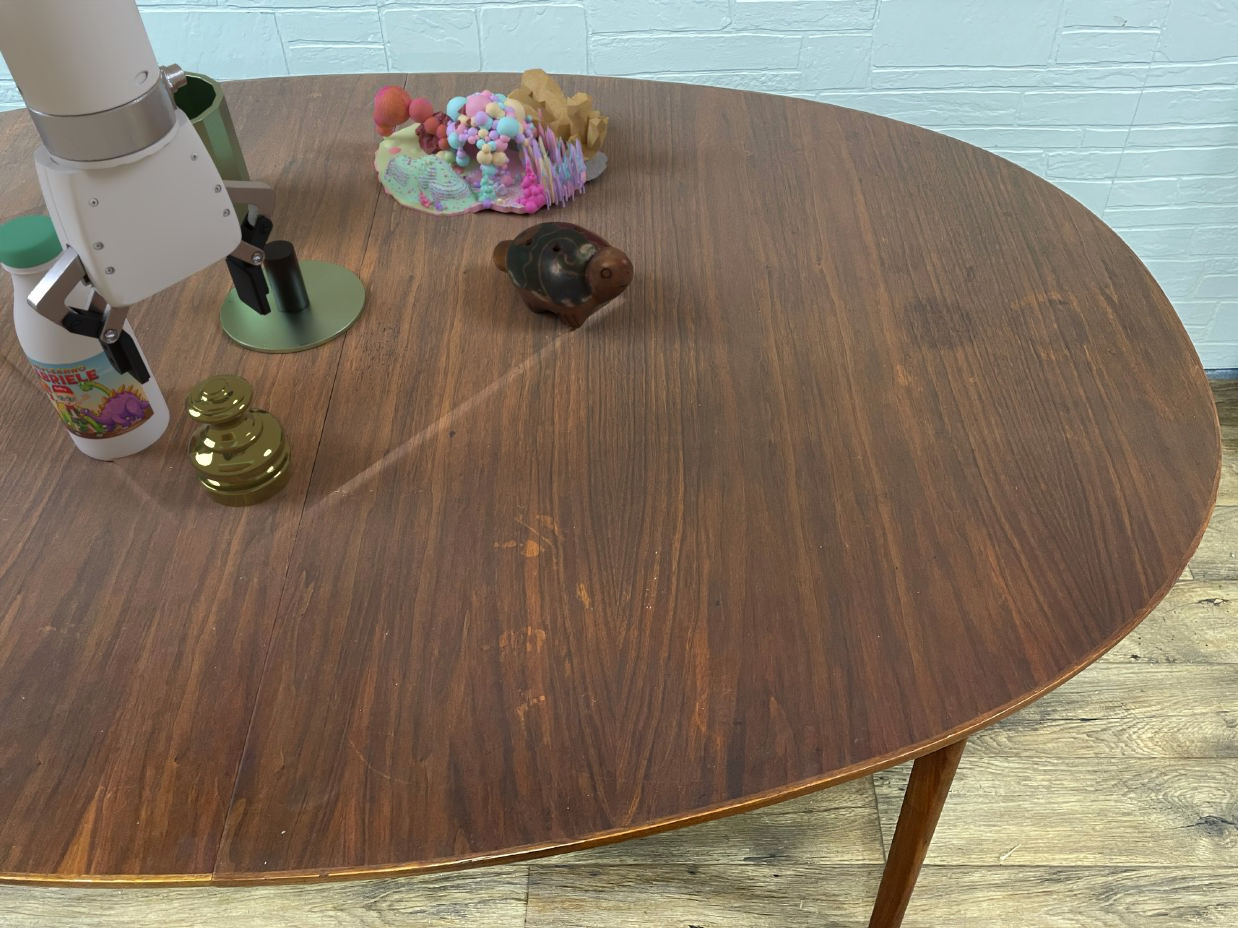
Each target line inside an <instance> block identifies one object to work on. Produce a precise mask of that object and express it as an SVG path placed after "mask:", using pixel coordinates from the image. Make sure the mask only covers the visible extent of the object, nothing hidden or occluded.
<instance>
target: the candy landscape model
mask: <svg viewBox="0 0 1238 928" xmlns="http://www.w3.org/2000/svg"><path fill="white" fill-rule="evenodd" d="M520 85H521V86H520V88H518V87H516V88H515V89H513V90H512V91H511V92H509V94H507V95H506V96H505V94H502V93H495V94H494V92H491V91H490V90H489V89H484V90H483V91H482V92H479V91H477V92H475V93H472V94H470V95H468V96H467V97H464V96H455V97H453V98H451V99H450V100H449V101H448V102H447V105H446V113H444V111H443V110H439V111H435V112H434V107H433V104H432V103H431V102H430V100H428V99H427V98H424V97H416V98H414V99H412V98H411V95H410V94H409V93H408V91H407V90H405V89H404V88H403V87H401V86H398V85H387V86H385V87H382V88H381V89H380V90H378V91H377V93H376V95H375V97H374V99H373V100H374V101H373V105H374V106H373V107H374V110H373V115H372V116H373V121H374V123H375V125H376V132H377V134H378V135H379V136H381V137H382V138H383V139H384V140H382V141H381V142H380V143H379V146H378V149H376V150H375V152H374V155H375V158H374V159H375V160H374V161H373V164H374V168H375V172H376V173H378V174H377V177H378V182H379V183H381V184H382V187H383V188H384V192H385V194H386V195H388V196H391V197H393V198H394V200H395V201H396V202H398V203H399V206H401V207H405V208H408V209H411V210H414V211H417V212H421V213H423V214H427V215H431V216H434V217H449V218H450V217H453V216H461V215H465V214H467V213H471V214H475V213H477V212H479V211H483V210H489V209H490V210H493V211H497V212H501V213H507V214H508V213H515V214H519V215H522V214H526V213H528V214H534V213H536V212H537V211H538V210H540V208H543V206H544V205H546V208H547V211H550V207H551V206H552V204H554V203H555V205H556V206H558V205H559V202H562V203H561V204H562V208H565V207H566V202H568V199H569V198H571V197H572V198H571V199H572V201H573V202H574V201H575V191H577V190H578V191H579V192H578V193H579V194H585V193H586V189H585V188H586V187H585V183H586V182H589V181H591V180H594V179H596V178H598V177H599V176H600V175H601V174H602V173H603V172H604V171H605V170H606V169H607V168H608V165H607V162H608V160H609V158H608V157H607V154H606V153H604V152H602V151H600V148H601V147H602V146H603V143H604V140H605V138H606V136H607V133H608V123H609V119H610V118H609V116H602V115H601V110H591V109H592V107H593V103H594V97H592V96H590V95H589V94H588V93H585V92H581V91H578V92H577V93H575V94H574V95H573V96H572V97H569V96H567V98H566V97H565V95H564V93H563V90H562V88H561V87H560V86H559V84H558V83H557V82H556V81H555V80H554V78H553V77H551V76H550V74H548V73H547V72H546V71H545V70H543V69H542V68H530V69H525V70H524V72H523V73H522V75H521V84H520ZM410 119H411V120H412V121H413V122H414V123H412V124H411V125H409V126H407V127H404V128H402V129H399V130H397V131H394V129H395V127H396V126H400V125H403V124H405V123H406V122H408V121H409V120H410ZM565 201H566V202H565Z"/></svg>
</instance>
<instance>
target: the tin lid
mask: <svg viewBox="0 0 1238 928" xmlns="http://www.w3.org/2000/svg"><path fill="white" fill-rule="evenodd" d="M263 251H264V253H265V259H264V261H263V263H262V265H263V267H264V268H262V270H263V273H264V276H265V279H266V282H267V285H268V288H269V294H267V295H266V297H267V300H268V303H269V306H270V308H271V312H270V313H269V314H267V315H265V316H264V315H260V314H259V313H257V312H256V311H254V310H253V309H252V308H250V307H249V306H248V305H246V304H245V303H243V302H242V301H241V300H240V299H239V296H238V294H237V291H236V288H235V286H234V287H232V289H230V290H229V292H228V293H227V294H226V296H225V298H224V299H223V302H222V303H221V306H220V310H219V320H220V324H221V327H222V329H223V331H224V333H225V334H226V336H227V337H228V338H229V339H230V340H231V341H232V342H234V343H235V344H237V345H238V346H240V347H243V348H245V349H248V350H251V351H254V352H259V353H265V354H289V353H290V354H291V353H298V352H303V351H306V350H310V349H315V348H317V347H319V346H322V345H324V344H327V343H329V342H332V341H334V340H335V339H337V338H339V337H340V336H342V335H344V333H346V332H347V331H348V330H350V329H351V328H352V327H353V326H354V325H355V324H356V323H357V321H358V320H359V319H360V318H361V316H362V315H363V312H364V311H365V310H364V309H365V307H366V302H367V295H366V290H365V287H364V284H363V282H362V281H361V279H360V277H358V276H357V275H356V274H355V273H354V272H353V271H351V269H349V268H346V267H345V266H342V265H340V264H338V263H333V262H330V261H323V260H314V259H313V260H309V259H307V260H305V259H304V260H298V255H297V252H296V249H295V246H294V243H292V242H290V241H288V240H286V239H277V240H272V241H269V242H266V244H265V246H264V249H263Z"/></svg>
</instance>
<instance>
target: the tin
mask: <svg viewBox="0 0 1238 928" xmlns="http://www.w3.org/2000/svg"><path fill="white" fill-rule="evenodd" d="M183 72H184V74H185V76H186V79H187V85H184V86H182V87H180V88H178V90H177V92H175V93H174V101H175V103H176V106H177V107H178V108H179V109H181V110H182V111H183V112H184V113H185V114H186V116H187V117H188V119H189V120H190V122H191V123H192V125H193V127H194V128H195V130H196V132H197V133H198V135H199V137H200V139H201V140H202V142H203V144H204V146H205V148H206V149H207V151H208V153H209V155H210V157H211V159H212V161H213V163H214V165H215V166H216V168H217V170H218V173H219V175H220V177H221V179H222V180H230V181H251V176H250V174H249V169H248V167H247V164H246V160H245V158H244V154H243V151H242V148H241V144H240V140H239V138H238V135H237V131H236V128H235V125H234V121H233V118H232V115H231V112H230V109H229V105H228V102H227V99H226V96H225V93H224V91H223V88H222V85H221V83H220V82H219V81H217V80H215V79H213V78H211V77H210V76H208V75H206V74H203V73H197V72H192V71H186V70H183ZM232 205H233V207H234V210H235V213H236V215H237V218H238V221H239V225H240V227H241V224H242V222H243V220H244V218H245V216H246V214H247V213H248V212H249V209H248V204H232Z"/></svg>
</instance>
